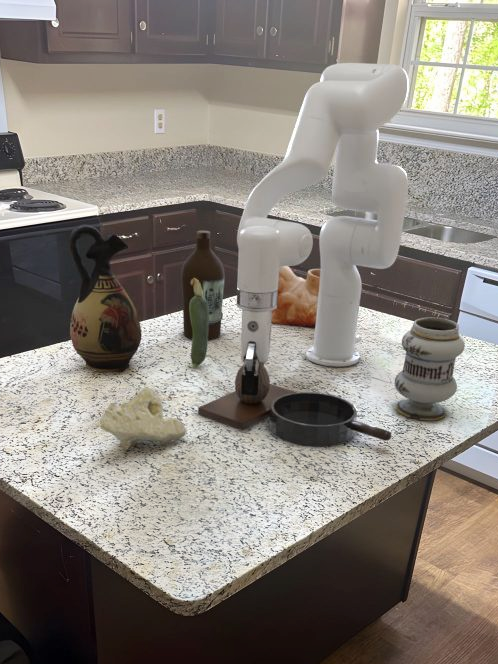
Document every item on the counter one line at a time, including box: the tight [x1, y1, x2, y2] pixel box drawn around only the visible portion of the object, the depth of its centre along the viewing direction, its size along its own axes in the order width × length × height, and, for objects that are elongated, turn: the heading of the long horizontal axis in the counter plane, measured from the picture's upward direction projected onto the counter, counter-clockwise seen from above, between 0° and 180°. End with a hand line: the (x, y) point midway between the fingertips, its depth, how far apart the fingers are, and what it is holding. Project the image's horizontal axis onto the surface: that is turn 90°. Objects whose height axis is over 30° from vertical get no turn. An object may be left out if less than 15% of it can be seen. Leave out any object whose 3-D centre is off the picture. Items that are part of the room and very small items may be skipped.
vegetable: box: [189, 278, 209, 368], centre depth 158 cm, size 4×4×20 cm
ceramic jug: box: [67, 224, 143, 374], centre depth 154 cm, size 17×15×30 cm
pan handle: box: [349, 420, 392, 442], centre depth 129 cm, size 2×8×2 cm, turn 51°
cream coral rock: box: [99, 386, 187, 451], centre depth 128 cm, size 15×7×15 cm
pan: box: [268, 391, 358, 447], centre depth 136 cm, size 16×16×4 cm
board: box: [197, 383, 297, 431], centre depth 144 cm, size 20×11×2 cm, turn 141°
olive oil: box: [180, 230, 226, 341], centre depth 178 cm, size 11×11×25 cm
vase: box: [234, 358, 271, 404], centre depth 142 cm, size 7×7×9 cm
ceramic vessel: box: [271, 266, 321, 329], centre depth 194 cm, size 14×26×15 cm, turn 75°
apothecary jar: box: [394, 316, 466, 421], centre depth 141 cm, size 12×12×18 cm
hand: (252, 385), depth 142 cm, fingers open, 9 cm apart
